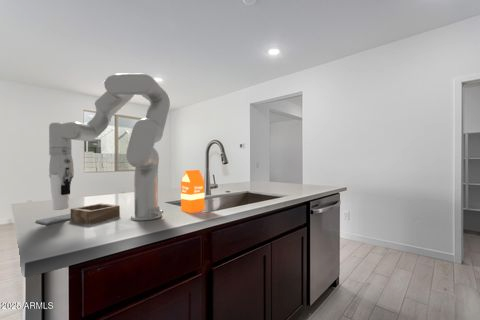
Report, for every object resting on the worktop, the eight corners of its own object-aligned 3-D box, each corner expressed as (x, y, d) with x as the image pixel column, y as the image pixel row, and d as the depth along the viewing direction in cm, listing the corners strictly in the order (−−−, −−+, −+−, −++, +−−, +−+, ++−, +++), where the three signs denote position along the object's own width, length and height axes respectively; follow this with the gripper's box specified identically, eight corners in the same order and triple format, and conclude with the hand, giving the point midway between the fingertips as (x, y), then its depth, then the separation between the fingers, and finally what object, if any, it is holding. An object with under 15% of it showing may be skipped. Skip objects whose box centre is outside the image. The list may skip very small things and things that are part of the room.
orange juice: (180, 210, 115) (180, 170, 115) (195, 207, 121) (194, 169, 121) (190, 212, 110) (190, 170, 109) (204, 209, 116) (204, 170, 116)
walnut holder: (119, 216, 103) (119, 205, 103) (89, 224, 91) (89, 211, 91) (101, 214, 108) (100, 203, 108) (70, 220, 97) (70, 208, 97)
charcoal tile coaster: (84, 216, 103) (84, 215, 103) (47, 225, 91) (47, 223, 91) (72, 214, 107) (72, 213, 107) (35, 222, 94) (35, 220, 94)
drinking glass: (59, 211, 95) (59, 174, 95) (46, 210, 96) (46, 174, 96) (74, 207, 101) (74, 173, 101) (61, 207, 103) (61, 173, 103)
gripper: (82, 152, 98) (82, 194, 98) (59, 152, 106) (59, 191, 106) (62, 151, 92) (62, 196, 92) (39, 152, 99) (39, 193, 99)
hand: (60, 193), depth 99 cm, fingers closed on drinking glass, 6 cm apart
